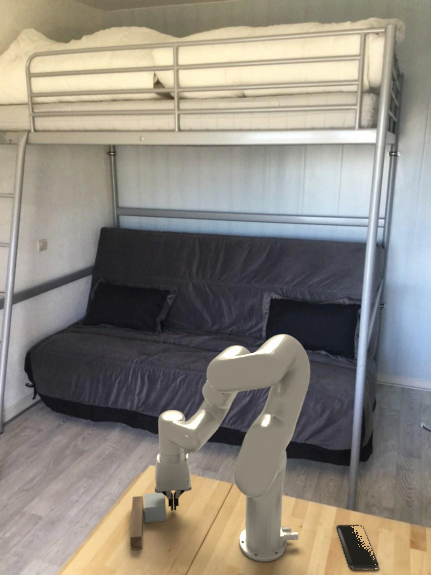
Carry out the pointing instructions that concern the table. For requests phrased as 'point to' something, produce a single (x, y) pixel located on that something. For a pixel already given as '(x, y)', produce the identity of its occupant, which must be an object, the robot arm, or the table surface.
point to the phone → (355, 549)
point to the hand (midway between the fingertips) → (173, 507)
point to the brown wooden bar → (136, 523)
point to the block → (154, 507)
